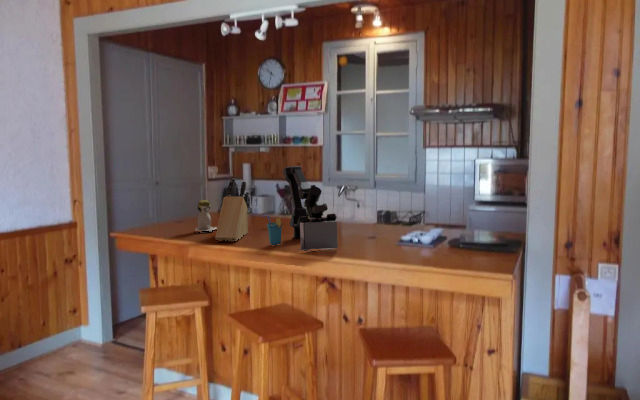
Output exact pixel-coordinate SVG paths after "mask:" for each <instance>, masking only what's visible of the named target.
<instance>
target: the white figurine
mask: <svg viewBox="0 0 640 400" xmlns="http://www.w3.org/2000/svg"><path fill="white" fill-rule="evenodd" d="M211 207H212V205H211V203H210V201H209V200H207V199H201V200H200V201H198V204H197V210H198V211H199V213H198V217H197V227H196V228H195V229H194V232H195V231H209V232H212V230H215V229H217V226H212V218H211V215H210V213H209V211H208V210H211Z"/></svg>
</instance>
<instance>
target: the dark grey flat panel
mask: <svg viewBox="0 0 640 400" xmlns="http://www.w3.org/2000/svg"><path fill="white" fill-rule="evenodd" d="M300 238H301V239H300V249H301V250H309V249H329V248H335V249H338V248H339V247H338V221H337V220H335V221H321V222H301V223H300Z"/></svg>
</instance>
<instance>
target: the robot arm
mask: <svg viewBox="0 0 640 400" xmlns="http://www.w3.org/2000/svg"><path fill="white" fill-rule="evenodd" d="M282 175H283V176H284V181H286V182H287V183H288V186H289V192H290V197H291V202H292V206H293V207H292V208H293V209H292V212H291V218H290V220H289V226H290V227H291V228H293V236H292V239H296V240H297V239H300V240H301V238H300V223H301V222H321V221H337V218H338V216H337V215H336V214H335V213H334V212H333V213H332V212H331V213H327V214H326V216H324V212H326V211H328V205H327V203H322V204H318V202H319V200H320V198H321V195H322V189H321V188H320V187H318V186H316V184H310V183H309V182H308V181H307V179H306V176H305V175H304V173H303V168H302V166H300V165H293V166H285V167H284V168H283V169H282ZM302 200H304V202H302ZM303 203H304V205H303ZM303 206H304V207H303Z"/></svg>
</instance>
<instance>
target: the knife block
mask: <svg viewBox="0 0 640 400" xmlns="http://www.w3.org/2000/svg"><path fill="white" fill-rule="evenodd" d="M237 186H238V184H237V182H236V178H231V179H230V181H229V183H228V186H227V192H226V193H227V194H226V196H224V197H223V199H222V204H221V210H220V214H219V218H218V223H217V226H216V228H217V231H215V232H216V233H215V238H214V239H215V240H225V241H224V242H234V241H236V242H238V241H239V240H240V239H242V238H243V237H244V236H245V235H247V234H248V232H249V226H248V225H249V224H248V221H249V220H248V212H249V209H250V205H251V202H250V201H249V195H250V192H248V191H246V188H247V182H246V181H242V182H241V185H240V190H239V193H238V192H237ZM243 235H244V236H243ZM241 237H242V238H241ZM238 239H239V240H238ZM227 240H228V241H227ZM237 240H238V241H237Z"/></svg>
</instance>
